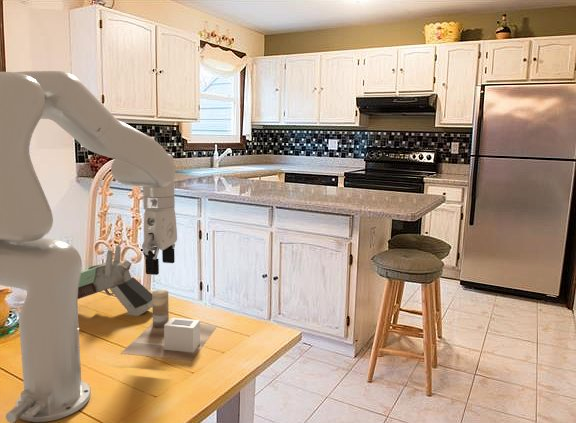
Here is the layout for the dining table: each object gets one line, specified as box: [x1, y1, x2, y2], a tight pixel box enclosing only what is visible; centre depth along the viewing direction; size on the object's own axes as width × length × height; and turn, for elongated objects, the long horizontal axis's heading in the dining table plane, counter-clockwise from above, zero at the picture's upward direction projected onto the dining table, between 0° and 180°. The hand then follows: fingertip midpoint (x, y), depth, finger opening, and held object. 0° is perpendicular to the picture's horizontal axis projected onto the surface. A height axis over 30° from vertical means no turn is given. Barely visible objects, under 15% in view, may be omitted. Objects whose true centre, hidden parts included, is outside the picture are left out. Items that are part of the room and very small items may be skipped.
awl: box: [151, 289, 170, 328], centre depth 115 cm, size 4×4×9 cm
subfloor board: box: [120, 323, 218, 362], centre depth 109 cm, size 19×17×1 cm
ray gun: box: [78, 245, 153, 317], centre depth 125 cm, size 7×32×20 cm, turn 83°
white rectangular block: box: [164, 317, 201, 352], centre depth 104 cm, size 4×7×6 cm, turn 82°
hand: (160, 268), depth 114 cm, fingers open, 9 cm apart
